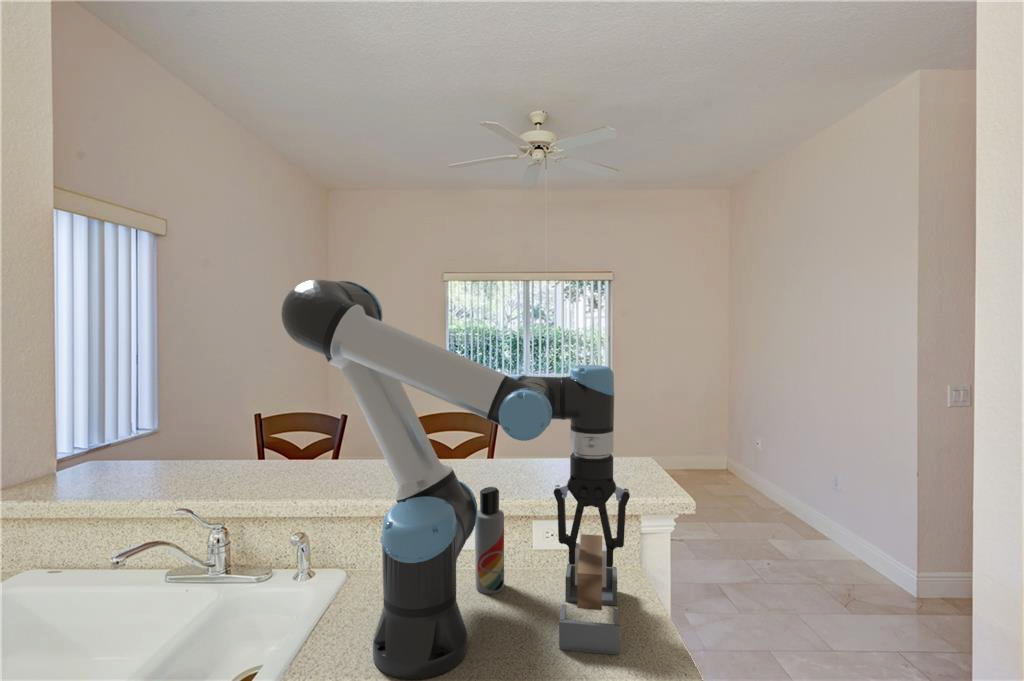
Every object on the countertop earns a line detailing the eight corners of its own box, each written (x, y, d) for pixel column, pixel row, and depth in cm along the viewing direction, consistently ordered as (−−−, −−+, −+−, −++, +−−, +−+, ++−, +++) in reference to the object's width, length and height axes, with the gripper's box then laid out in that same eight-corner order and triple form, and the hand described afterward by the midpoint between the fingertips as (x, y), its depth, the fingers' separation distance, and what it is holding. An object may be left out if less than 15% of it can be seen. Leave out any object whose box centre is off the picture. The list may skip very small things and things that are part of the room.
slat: (577, 608, 94) (577, 573, 93) (581, 564, 110) (581, 534, 109) (601, 610, 93) (602, 574, 93) (602, 566, 109) (602, 535, 109)
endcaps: (559, 650, 92) (559, 622, 92) (567, 586, 113) (567, 563, 113) (619, 656, 91) (619, 627, 90) (616, 590, 111) (616, 566, 111)
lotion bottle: (500, 595, 109) (500, 494, 108) (472, 592, 111) (471, 492, 109) (506, 581, 115) (506, 484, 114) (479, 579, 116) (479, 483, 115)
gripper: (541, 456, 98) (540, 589, 99) (642, 461, 95) (640, 597, 96) (545, 446, 105) (545, 569, 106) (640, 449, 102) (638, 576, 104)
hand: (590, 582), depth 101 cm, fingers closed on slat, 4 cm apart
